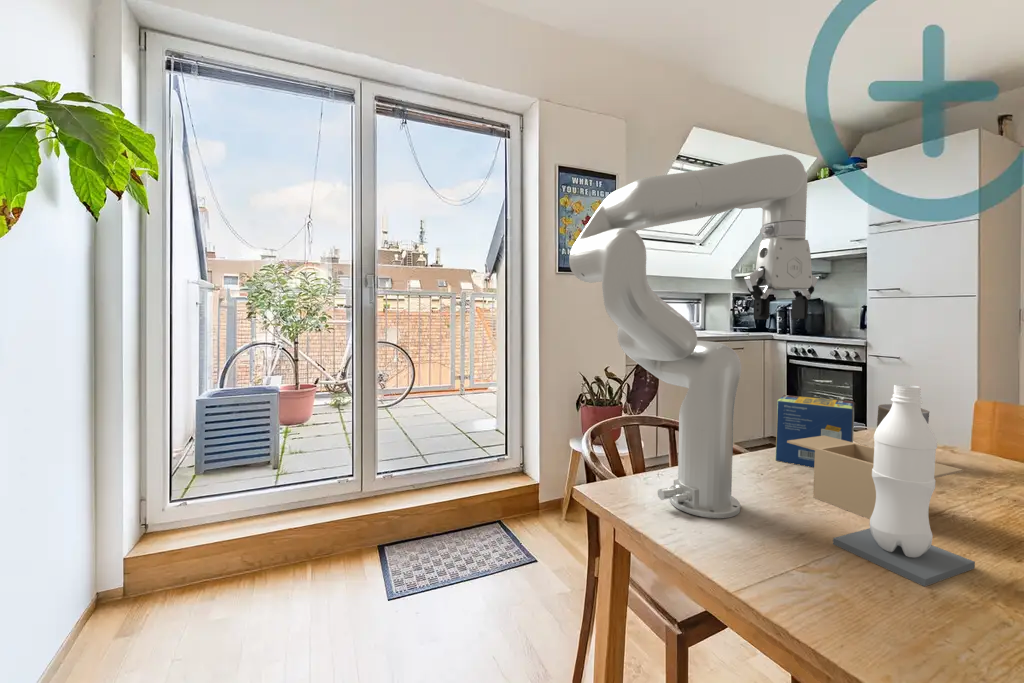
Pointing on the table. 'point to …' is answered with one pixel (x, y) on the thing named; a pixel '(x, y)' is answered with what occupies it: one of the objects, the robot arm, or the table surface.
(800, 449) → the protein box
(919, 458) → the water bottle
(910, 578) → the slate mat
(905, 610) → the table surface
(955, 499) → the table surface
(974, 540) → the table surface
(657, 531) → the table surface
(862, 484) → the carton
